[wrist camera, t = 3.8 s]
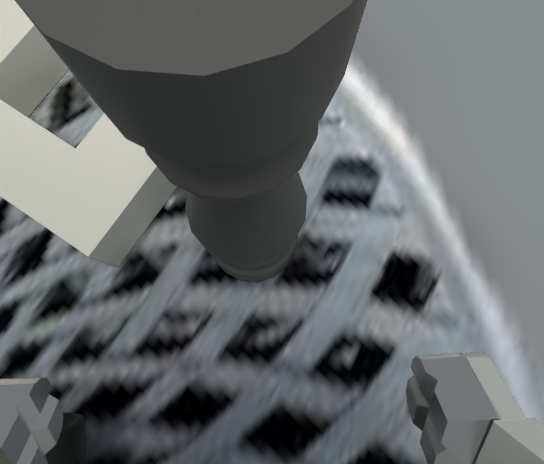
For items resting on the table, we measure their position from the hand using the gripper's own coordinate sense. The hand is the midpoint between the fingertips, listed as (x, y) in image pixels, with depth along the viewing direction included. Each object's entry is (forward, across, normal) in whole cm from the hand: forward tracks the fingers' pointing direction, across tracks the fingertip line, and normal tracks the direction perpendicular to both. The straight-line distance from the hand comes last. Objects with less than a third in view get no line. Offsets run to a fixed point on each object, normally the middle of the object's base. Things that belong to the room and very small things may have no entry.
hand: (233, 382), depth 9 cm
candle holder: (+19, 0, +9) cm, 21 cm away
